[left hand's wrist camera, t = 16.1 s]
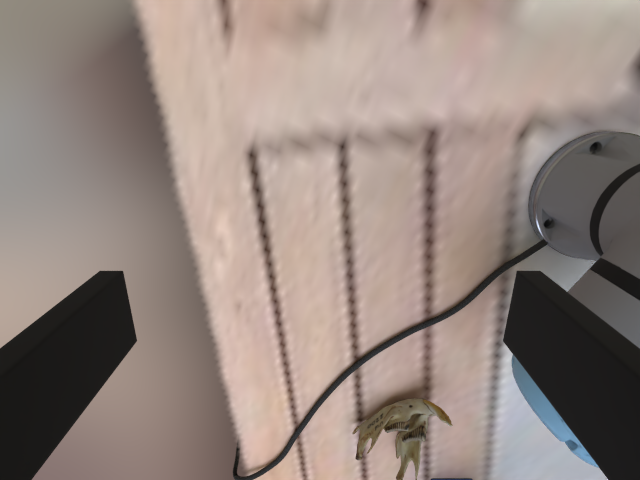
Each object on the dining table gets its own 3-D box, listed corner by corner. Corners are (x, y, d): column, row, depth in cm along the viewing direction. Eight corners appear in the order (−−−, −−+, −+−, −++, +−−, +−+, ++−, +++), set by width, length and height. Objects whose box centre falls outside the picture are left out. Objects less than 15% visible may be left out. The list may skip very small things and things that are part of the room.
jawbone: (478, 411, 52) (469, 493, 45) (407, 419, 63) (393, 485, 57) (425, 377, 50) (409, 456, 44) (363, 392, 62) (343, 456, 56)
